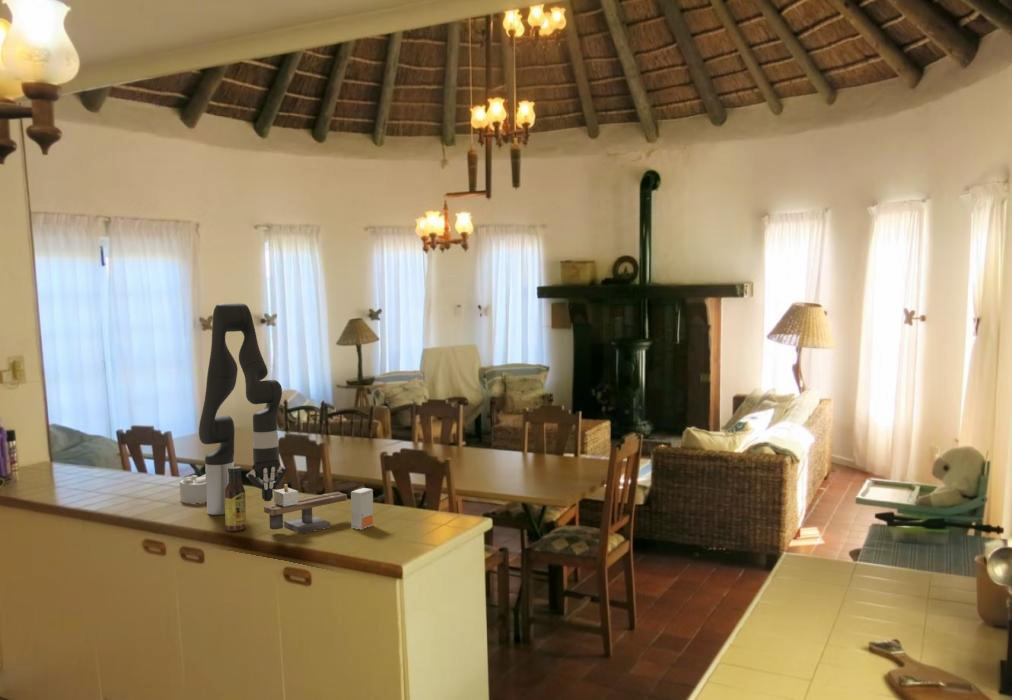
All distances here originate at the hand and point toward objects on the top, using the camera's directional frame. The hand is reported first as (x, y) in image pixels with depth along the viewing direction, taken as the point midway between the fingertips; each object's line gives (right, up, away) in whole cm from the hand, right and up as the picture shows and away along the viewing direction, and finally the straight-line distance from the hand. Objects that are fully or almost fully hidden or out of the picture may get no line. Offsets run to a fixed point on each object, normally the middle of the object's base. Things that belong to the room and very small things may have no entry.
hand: (267, 500), depth 234 cm
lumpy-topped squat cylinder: (-40, -9, +46) cm, 62 cm away
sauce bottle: (-13, -11, +8) cm, 18 cm away
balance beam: (+10, -10, +10) cm, 17 cm away
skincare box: (+28, -10, +9) cm, 31 cm away
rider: (+5, -4, +4) cm, 7 cm away
